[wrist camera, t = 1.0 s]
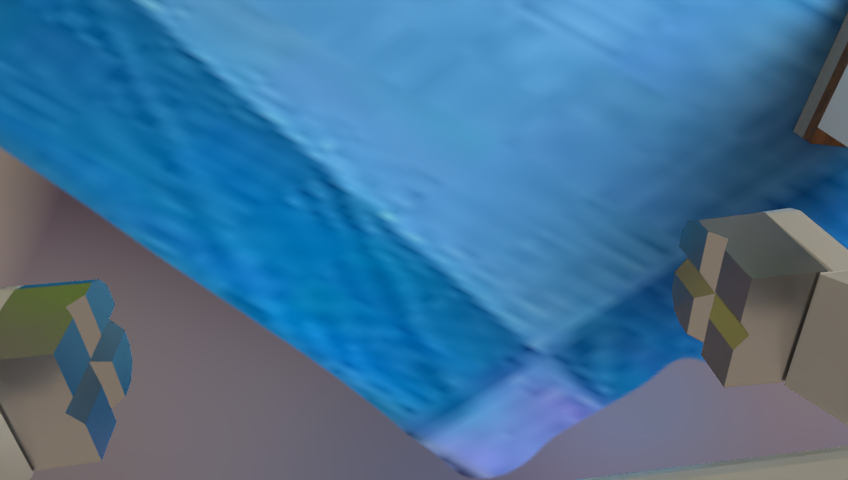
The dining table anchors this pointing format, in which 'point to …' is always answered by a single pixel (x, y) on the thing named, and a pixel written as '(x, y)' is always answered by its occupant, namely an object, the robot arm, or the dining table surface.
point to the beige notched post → (828, 98)
